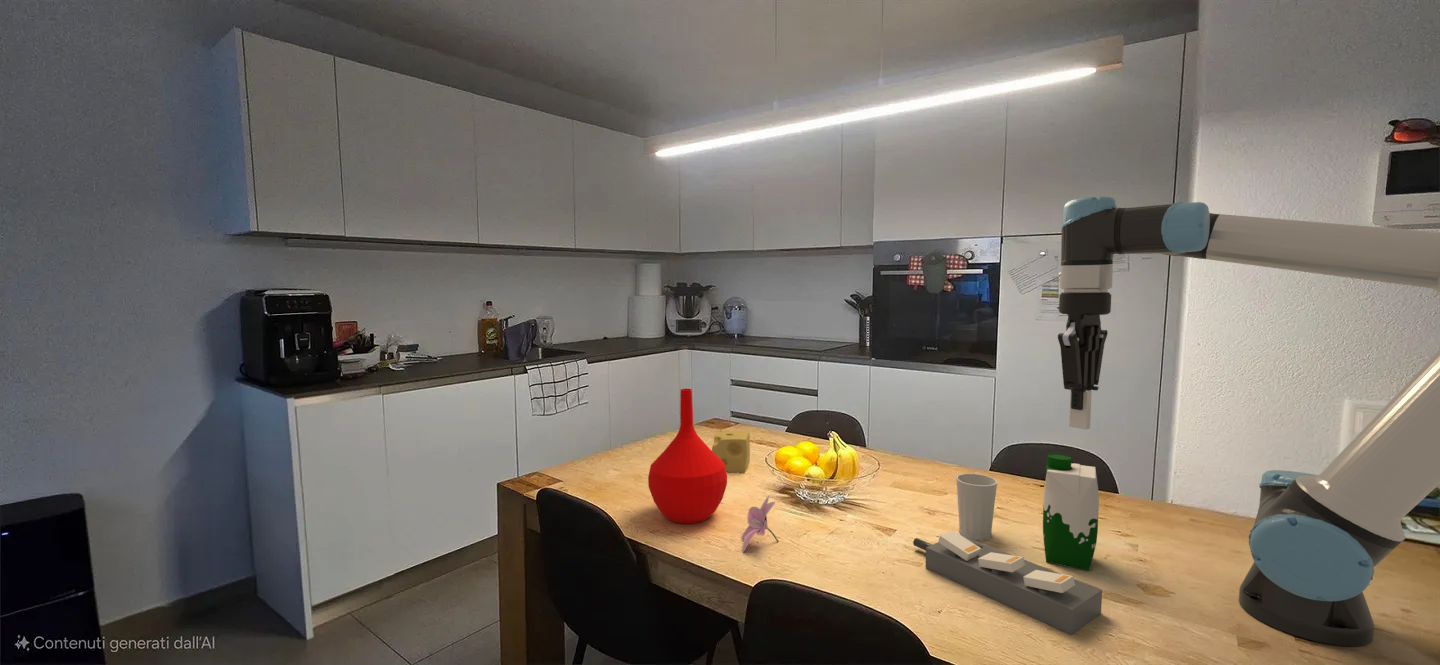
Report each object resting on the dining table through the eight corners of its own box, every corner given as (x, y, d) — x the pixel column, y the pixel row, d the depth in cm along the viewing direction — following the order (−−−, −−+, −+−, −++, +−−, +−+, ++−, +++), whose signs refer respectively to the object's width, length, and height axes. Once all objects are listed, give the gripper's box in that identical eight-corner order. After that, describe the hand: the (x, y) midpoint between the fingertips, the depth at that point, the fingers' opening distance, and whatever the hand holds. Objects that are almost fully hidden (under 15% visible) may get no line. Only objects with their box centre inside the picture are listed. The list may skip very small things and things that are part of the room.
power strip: (1101, 613, 95) (1102, 586, 95) (1071, 634, 90) (1072, 606, 89) (931, 542, 122) (931, 521, 121) (899, 555, 116) (899, 533, 116)
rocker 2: (1025, 565, 100) (1023, 556, 100) (1012, 572, 98) (1010, 563, 98) (992, 560, 105) (990, 551, 105) (979, 566, 103) (977, 558, 103)
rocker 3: (1075, 585, 94) (1073, 575, 94) (1062, 592, 91) (1060, 583, 91) (1037, 578, 99) (1035, 569, 99) (1024, 585, 96) (1023, 576, 96)
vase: (681, 539, 125) (678, 401, 122) (633, 514, 138) (630, 389, 136) (744, 516, 137) (742, 389, 134) (694, 495, 150) (692, 380, 148)
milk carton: (1043, 545, 120) (1046, 449, 118) (1095, 555, 115) (1100, 455, 113) (1040, 563, 112) (1043, 460, 111) (1096, 575, 108) (1101, 468, 106)
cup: (1000, 543, 121) (1001, 486, 120) (958, 540, 122) (960, 484, 121) (990, 527, 128) (992, 474, 127) (951, 525, 130) (953, 472, 129)
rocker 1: (979, 554, 107) (981, 547, 107) (966, 561, 105) (968, 554, 104) (951, 536, 112) (952, 529, 111) (938, 542, 110) (939, 535, 109)
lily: (754, 531, 131) (733, 497, 129) (801, 518, 126) (780, 483, 124) (741, 571, 120) (718, 535, 118) (792, 559, 115) (769, 522, 113)
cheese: (711, 472, 168) (710, 438, 167) (717, 461, 179) (717, 428, 178) (747, 474, 167) (746, 439, 166) (751, 462, 177) (751, 429, 176)
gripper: (1079, 290, 107) (1074, 417, 109) (1042, 291, 99) (1038, 428, 101) (1126, 290, 100) (1120, 425, 103) (1091, 292, 93) (1085, 438, 95)
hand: (1079, 427), depth 102 cm, fingers closed
